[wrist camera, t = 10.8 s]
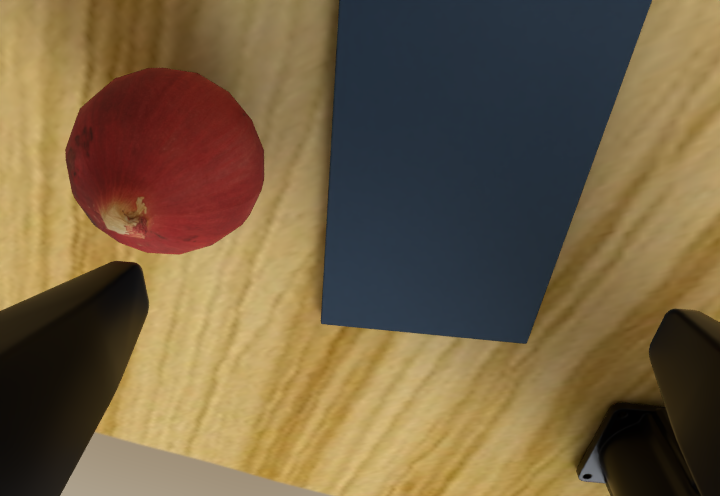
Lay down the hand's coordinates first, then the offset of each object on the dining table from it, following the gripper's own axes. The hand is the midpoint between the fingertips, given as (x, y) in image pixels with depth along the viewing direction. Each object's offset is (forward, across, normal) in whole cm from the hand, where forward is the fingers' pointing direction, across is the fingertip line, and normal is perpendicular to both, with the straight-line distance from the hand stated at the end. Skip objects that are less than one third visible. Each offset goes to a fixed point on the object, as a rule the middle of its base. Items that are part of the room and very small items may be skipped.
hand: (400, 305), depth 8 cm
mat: (+12, -3, +1) cm, 12 cm away
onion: (+12, +7, +1) cm, 14 cm away
